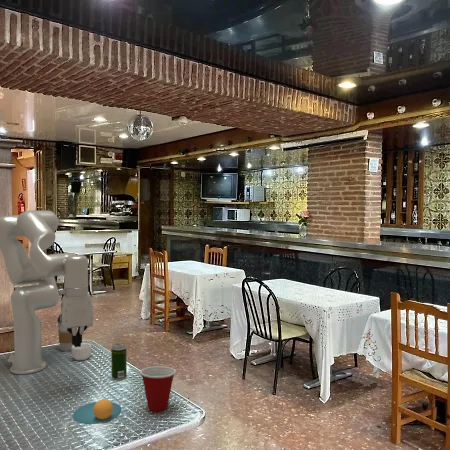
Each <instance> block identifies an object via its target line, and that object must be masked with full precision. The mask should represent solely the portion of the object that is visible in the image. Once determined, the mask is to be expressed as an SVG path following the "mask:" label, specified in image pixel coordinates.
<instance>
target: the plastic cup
mask: <svg viewBox="0 0 450 450" xmlns="http://www.w3.org/2000/svg"><path fill="white" fill-rule="evenodd" d="M176 371H177V370H176V369H175V368H173V367H171V366H162V365H156V366H148V367H145V368H142V369H141V370H140V375H141V378H142V381H143V384H144V385H143V387H144V392H145V398H146V399H145V400H146V402H147V408H148V411H149V412H151V413H157V414H158V413H164V412H166V411H167V409H168V407H169V401H170V398H171V397H170V396H171V390H172V384H173V381H174V377H175V376H174V375H175V374H176V373H177V372H176Z"/></svg>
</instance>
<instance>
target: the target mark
mask: <svg viewBox="0 0 450 450" xmlns="http://www.w3.org/2000/svg"><path fill="white" fill-rule="evenodd" d="M97 402H98V401H95V402H89V403H86V404H83V405H81V406H79V407H78V408H77V409H75V411H74V412H73V414H72V418H73V420H74V421H75V422H77V423H81V424H86V425H96V424H97V425H98V424H102V423H107V422H109V421H112V420H115V418H118V416H119V415H121V412H122V406H121V405H120V404H118V403H116V402H113V401H110V402H111V403H112V405H113V411H112V414H111V415H110V416H109V417H108V418H107V419H103V420H102V419H98V418H97V417H96V416H95V415H94V411H93V410H94V406H95V404H96V403H97Z"/></svg>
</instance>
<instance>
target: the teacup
mask: <svg viewBox="0 0 450 450" xmlns="http://www.w3.org/2000/svg"><path fill="white" fill-rule="evenodd" d="M91 354H92V344H91V343H89V342H82V343H81V347H75V346H74V345H73V346H72V351H71V355H72V357H73V359H74V360H76V361H79V362H80V361H86V360H87V359H89V358H90V357H91Z"/></svg>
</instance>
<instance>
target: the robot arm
mask: <svg viewBox="0 0 450 450" xmlns="http://www.w3.org/2000/svg"><path fill="white" fill-rule="evenodd" d="M58 227H59V219H58V216H57V215H56V213H54V212H53V211H51V210H26V211H22V212H21V213H20V214H18V215H17V214H16V215H4V216H0V252H1V253H2V257H3V261H4V264H5V268H6V269H5V270H6V272H7V275H8V278H9V281H10V283H12V285H14V286H15V285H16V286H22V287H18V288H17V289H15V290H14V291H13V292H11V294H10V305H11V310H12V315H13V317H12V318H13V341H14V342H13V343H14V345H13V346H14V347H13V348H14V353H13V355H12V354H11V355H9V358H7V362H8V363H12V365H11V366H10V368H9V369H10V370H9V371H10V373H12V374H15V375H29V374H35V373H38V372H41V371H43V370H44V369H46V367H47V362H46V361H44V360H43V357H42V356H43V353H42V351H43V349H42V348H43V347H42V321H41V319H40V317H39V316H38V314H37V313H36V311H39V310H43V309H49V308H53V307H54V306H56V305H57V304H58V303H59V299H60V295H64V296H62V299H61V303H60V312H59V313H60V314H59V315H60V323H61V327H60V330H61V331H68V332H69V333H71V334H72V344H73V345H74V346H75V347H81V343H83V334H84V333H85V331H86V330H87V329H89V328H92V327H93V325H94V321H95V320H94V317H95V316H94V306H93V299H92V295H91V294H89V265H88V264H89V262H88V257H87V256H86V255H83V254H76V253H74V252H66V253H65V252H64V253H52V254H46V253H45V252H44V251H46V250H47V249H49V248H50V247H51V246H52V245H54V243H55V241H56V234H55V231H57V229H58ZM17 237H20V238H21V237H25V238H27V240H28V242H30V244H31V245H30V247H29V251H27V248H26V247H25V246H24V243H23V244H22V242H21V241H19V240H18V239H17ZM28 252H29V255H28ZM59 276H64V279H63V280H64V282H63V283H64V287H63V289H61V290H59V289H58V285H57V282H56V278H55V277H59ZM32 284H36V285H32ZM23 285H26V286H23ZM27 285H29V286H27ZM75 327H77V333H76V329H75Z"/></svg>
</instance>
